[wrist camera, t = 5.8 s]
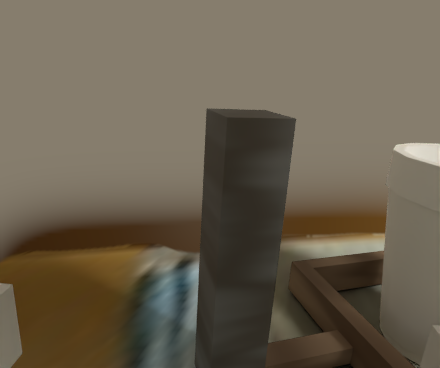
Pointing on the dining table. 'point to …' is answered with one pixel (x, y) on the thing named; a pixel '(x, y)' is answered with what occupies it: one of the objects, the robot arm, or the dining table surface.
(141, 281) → the dining table surface
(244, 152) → the sliding frame
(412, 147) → the foam cup
